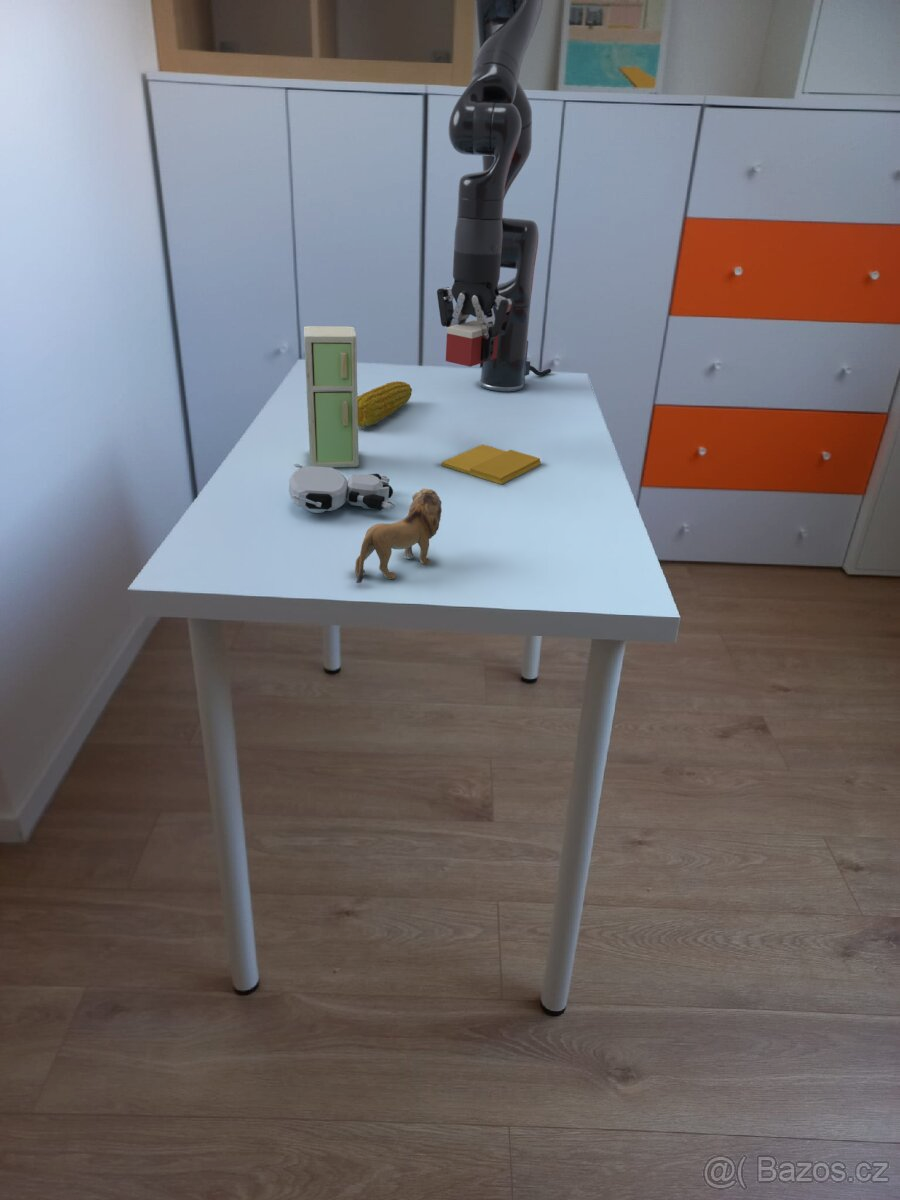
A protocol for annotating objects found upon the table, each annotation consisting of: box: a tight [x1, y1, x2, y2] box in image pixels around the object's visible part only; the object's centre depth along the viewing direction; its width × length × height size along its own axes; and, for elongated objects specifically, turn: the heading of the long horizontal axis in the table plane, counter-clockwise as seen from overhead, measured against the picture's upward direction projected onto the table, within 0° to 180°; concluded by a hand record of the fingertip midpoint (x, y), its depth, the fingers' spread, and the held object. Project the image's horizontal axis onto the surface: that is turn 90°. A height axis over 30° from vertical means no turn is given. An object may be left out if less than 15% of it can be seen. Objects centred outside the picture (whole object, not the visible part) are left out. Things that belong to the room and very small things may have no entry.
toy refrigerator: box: [303, 325, 360, 469], centre depth 131 cm, size 8×7×21 cm
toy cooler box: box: [445, 319, 498, 368], centre depth 138 cm, size 8×5×6 cm, turn 145°
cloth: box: [441, 444, 542, 485], centre depth 138 cm, size 12×12×1 cm
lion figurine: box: [354, 488, 443, 584], centre depth 104 cm, size 15×5×9 cm, turn 142°
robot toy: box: [288, 463, 395, 514], centre depth 121 cm, size 12×4×15 cm
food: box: [357, 380, 413, 428], centre depth 157 cm, size 21×6×6 cm, turn 159°
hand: (471, 357), depth 139 cm, fingers closed on toy cooler box, 5 cm apart
